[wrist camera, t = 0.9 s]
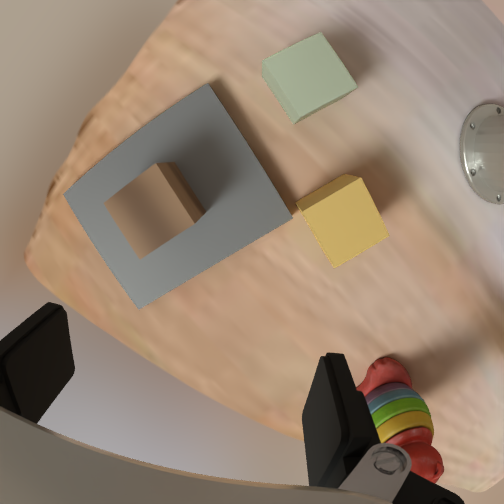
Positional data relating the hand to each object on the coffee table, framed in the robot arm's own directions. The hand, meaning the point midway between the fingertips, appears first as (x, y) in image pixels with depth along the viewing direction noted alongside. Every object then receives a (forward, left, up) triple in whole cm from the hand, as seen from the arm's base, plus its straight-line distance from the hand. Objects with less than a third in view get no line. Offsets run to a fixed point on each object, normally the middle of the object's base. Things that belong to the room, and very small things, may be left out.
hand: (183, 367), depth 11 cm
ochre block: (-9, +4, -25) cm, 27 cm away
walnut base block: (+5, -6, -23) cm, 24 cm away
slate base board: (+5, -6, -24) cm, 26 cm away
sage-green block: (-13, -9, -25) cm, 29 cm away
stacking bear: (-4, +30, -25) cm, 39 cm away
